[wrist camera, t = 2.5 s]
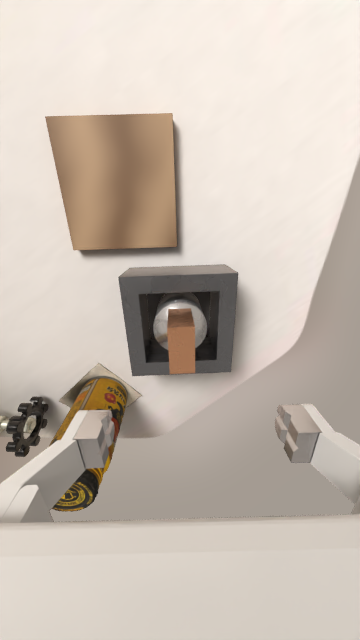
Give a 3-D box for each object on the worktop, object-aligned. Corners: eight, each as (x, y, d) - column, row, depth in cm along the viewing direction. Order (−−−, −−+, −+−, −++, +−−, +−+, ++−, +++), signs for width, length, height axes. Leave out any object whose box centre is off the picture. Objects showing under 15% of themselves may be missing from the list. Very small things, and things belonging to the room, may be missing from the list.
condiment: (142, 394, 29) (122, 495, 18) (102, 426, 31) (62, 535, 20) (99, 361, 27) (45, 454, 16) (59, 399, 29) (-13, 504, 18)
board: (77, 249, 21) (73, 250, 20) (52, 122, 18) (45, 116, 17) (176, 246, 22) (177, 246, 21) (172, 119, 18) (172, 113, 17)
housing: (139, 350, 26) (132, 376, 21) (129, 267, 22) (118, 277, 18) (220, 347, 26) (230, 371, 22) (224, 264, 22) (238, 272, 18)
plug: (158, 331, 25) (151, 380, 17) (155, 290, 23) (145, 322, 15) (200, 329, 25) (213, 377, 17) (200, 288, 23) (216, 319, 15)
